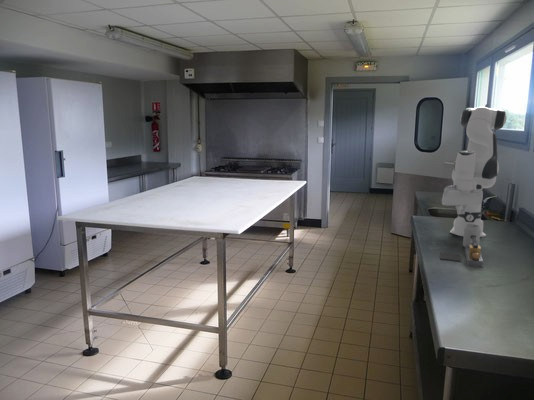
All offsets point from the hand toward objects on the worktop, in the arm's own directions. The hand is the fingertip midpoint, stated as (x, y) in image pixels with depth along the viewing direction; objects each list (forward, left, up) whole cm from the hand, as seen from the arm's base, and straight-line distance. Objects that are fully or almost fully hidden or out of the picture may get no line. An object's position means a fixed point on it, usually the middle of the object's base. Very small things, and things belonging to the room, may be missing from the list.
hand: (460, 214), depth 200 cm
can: (-17, +7, -21) cm, 28 cm away
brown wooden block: (+6, +7, -18) cm, 20 cm away
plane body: (+3, +7, -21) cm, 22 cm away
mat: (+5, -3, -21) cm, 21 cm away
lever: (0, +7, -13) cm, 15 cm away
